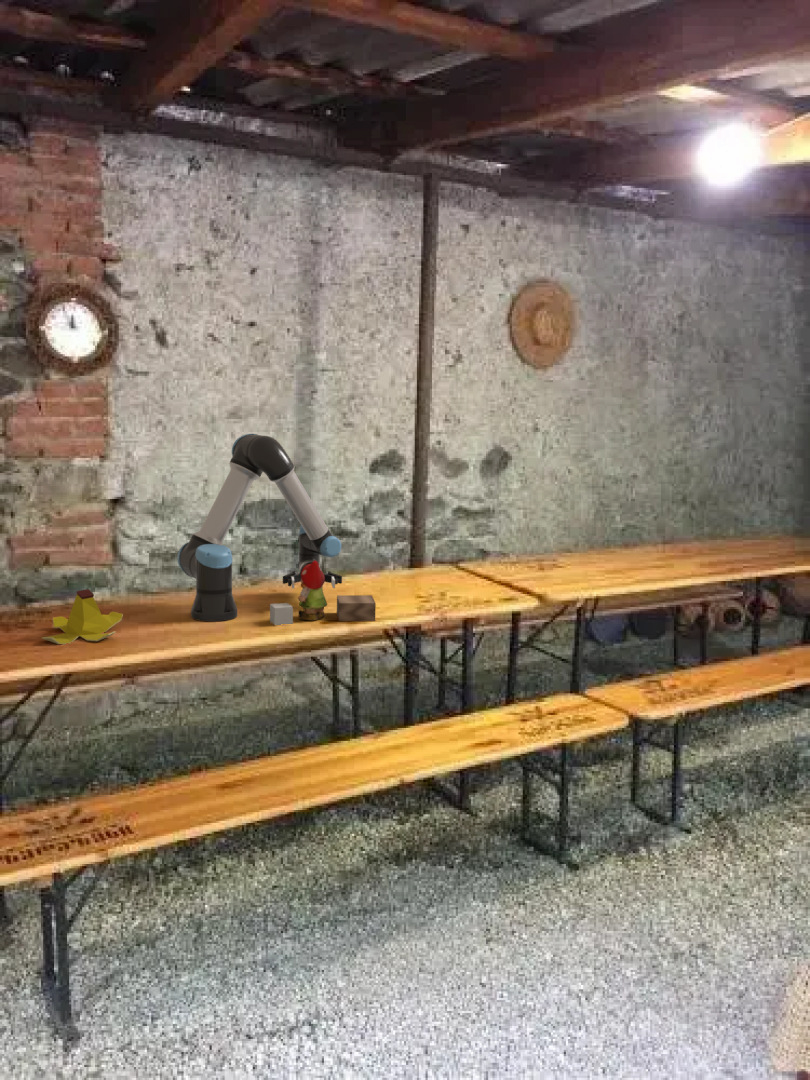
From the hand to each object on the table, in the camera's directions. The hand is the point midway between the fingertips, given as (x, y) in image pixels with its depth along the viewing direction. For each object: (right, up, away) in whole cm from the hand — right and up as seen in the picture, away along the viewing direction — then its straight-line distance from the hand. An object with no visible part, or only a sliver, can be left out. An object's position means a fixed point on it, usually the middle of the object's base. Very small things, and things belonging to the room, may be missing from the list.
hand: (313, 584), depth 328 cm
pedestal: (+14, -11, +3) cm, 18 cm away
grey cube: (-10, -12, -9) cm, 18 cm away
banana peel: (-67, -14, -28) cm, 75 cm away
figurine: (-1, -11, -1) cm, 12 cm away
